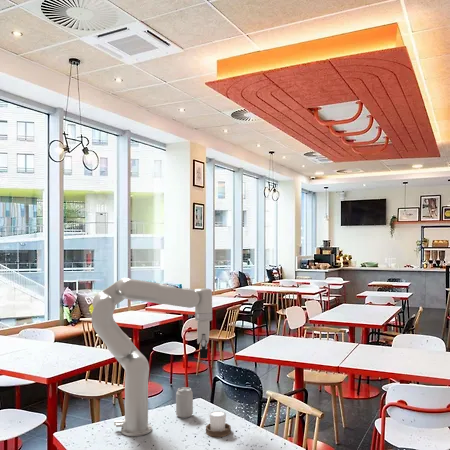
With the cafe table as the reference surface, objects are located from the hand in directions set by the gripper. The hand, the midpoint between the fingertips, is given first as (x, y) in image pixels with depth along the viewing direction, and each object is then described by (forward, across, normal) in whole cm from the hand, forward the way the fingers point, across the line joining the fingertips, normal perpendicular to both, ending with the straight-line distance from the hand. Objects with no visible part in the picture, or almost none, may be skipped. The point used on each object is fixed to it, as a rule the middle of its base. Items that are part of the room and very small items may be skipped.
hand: (203, 355), depth 214 cm
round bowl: (+28, +13, +6) cm, 32 cm away
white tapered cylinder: (+28, +13, +6) cm, 31 cm away
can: (+28, -7, -9) cm, 31 cm away
